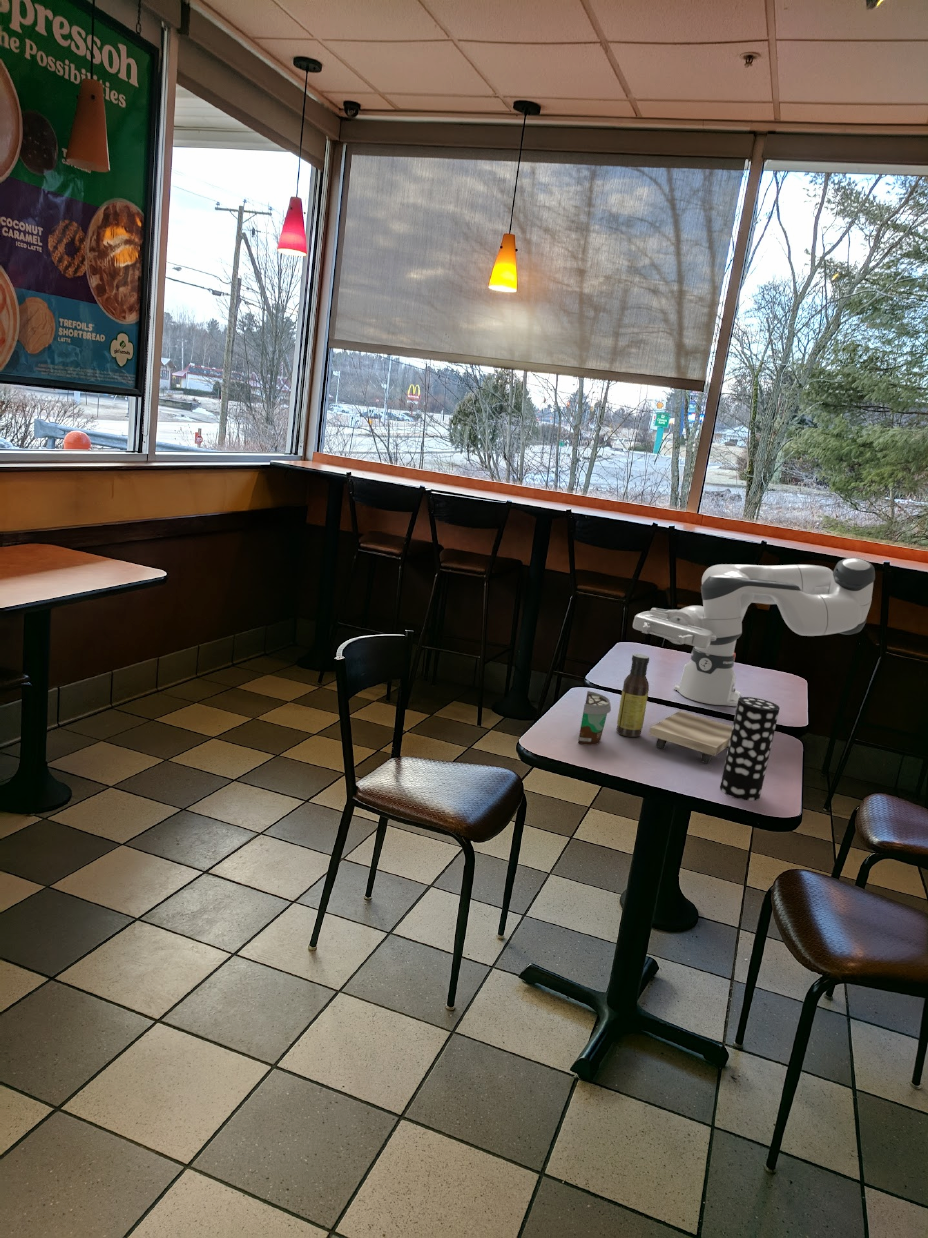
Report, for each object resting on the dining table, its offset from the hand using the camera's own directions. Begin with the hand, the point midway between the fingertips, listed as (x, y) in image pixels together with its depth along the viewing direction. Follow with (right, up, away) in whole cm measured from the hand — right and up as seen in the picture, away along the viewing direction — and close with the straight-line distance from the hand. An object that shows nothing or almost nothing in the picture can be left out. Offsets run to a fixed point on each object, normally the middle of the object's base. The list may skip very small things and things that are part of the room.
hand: (662, 635), depth 218 cm
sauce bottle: (-10, -24, -5) cm, 27 cm away
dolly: (+6, -27, -8) cm, 29 cm away
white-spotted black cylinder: (+9, -33, -33) cm, 48 cm away
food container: (-20, -25, -12) cm, 34 cm away
